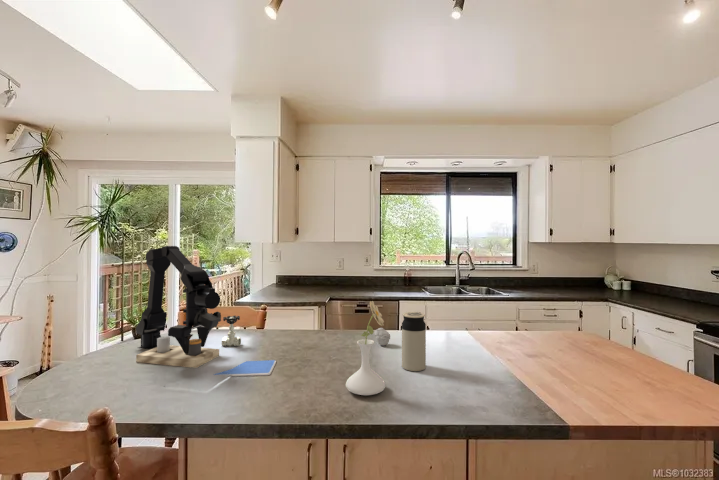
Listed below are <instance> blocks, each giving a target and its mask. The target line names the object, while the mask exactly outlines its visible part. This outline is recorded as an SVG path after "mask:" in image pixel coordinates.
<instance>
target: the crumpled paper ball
mask: <svg viewBox="0 0 719 480" xmlns="http://www.w3.org/2000/svg"><path fill="white" fill-rule="evenodd" d="M373 334H374V337H375V338H376V342H377V344H378V345H380V346H387V345H388V344H389V343H390V340H391V334H390V333H389V331H388V330H386V329H385V328H383V327H379V328H377V329H375V330H374V332H373Z"/></svg>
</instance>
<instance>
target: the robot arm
mask: <svg viewBox="0 0 719 480" xmlns="http://www.w3.org/2000/svg"><path fill="white" fill-rule="evenodd" d="M145 260H146V263H145V264H146V266H147V267H148V269H149V270H150V274H149V286H148V298H147V307H146V308H145V309H144V311H142V313H141V318H140V320H139V322H138V324H137V325H136V327H135V332H136V334H137V335H140V346H139V347H137V349H144V350H145V349H146V350H151V349H154V348H156V347H157V338H160V337H162V335H161V332H163V331H165V329H166V324H167V315H168V314H167V312H166V311H165V310H164V308H163V298H164V297H163V296H164V285H165V277H166V272H167V270H168V268H170V266H171V265H173V267H175V270H177V271H178V272H179V273H180V280H181V282H182V283H183V286H184V287H185V288H184V289H183V291H182V292H183V293H185V308H184V309H183V310H182V312H183V313H185V320H184V321H182V324H177V325H174V326H170V328H168V330H167V337H172V338H175V340H176V341H177V343H178V345H179V346H181V348H182V349H183V351H184V353H185V354H188V352H189V343H190V340H191V338H192V337H193V336H194V334H193V333H192V330H194V329H196V331H197V336H198V339H201V348H205V346H206V345H205V344H206V342H207V339H208V336H209V334H210V331H211V330H213V329H214V328H217V326H218V325H219V322H221V321H222V315H221V312H220V311H218V310H217V311H215V312H213V313H212V312H210V313H209V312H208V309H210V310H214V309H216V308H217V307H218V306H219V305H220V304H221V303H220V302H221V297H220V295H219V293H218V292H216V289H215V288H214V287H213V283H212V282H211V280H210V278H209V275H208V272H207V271H206V270H205V269H203V268H202V267H200V266H198V265H194V264H193V263H192V262H191V260H189V258H187V256H185V255H184V253H183V252H182V251H181V250H180V247H179V246H178V245H165V246H162V247H160V248H150V249H149V250H148V251H147V252H146V254H145Z"/></svg>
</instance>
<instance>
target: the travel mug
mask: <svg viewBox="0 0 719 480" xmlns="http://www.w3.org/2000/svg"><path fill="white" fill-rule="evenodd" d="M402 316H403V320H402V322H401V367H402V369H404V370H406V371H408V372H421V371H424V370H425V369H426V368H427V367H426V364H427V363H426V362H427V360H426V359H427V357H426V356H427V353H426V352H427V351H426V350H427V348H426V346H427V344H426V341H427V340H426V339H427V336H426V335H427V333H426V332H427V329H426V326H427V325H426V322H425V316H426V314H424V313H423V312H418V311H406V312H404V313H402Z"/></svg>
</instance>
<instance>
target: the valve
mask: <svg viewBox="0 0 719 480" xmlns="http://www.w3.org/2000/svg"><path fill="white" fill-rule="evenodd" d="M240 317H241V316H240V315H237V316H236V315H232V316H231V315H227V316H224V317H223V319H222V321H223V322H226V323H227V324H229V326H228V330H229V331H228V332H227V336H224V337H222V340H221V347H229V348H231V347H240V346H241V344H242V338H241V337H240V336H236V332H235V331H234V329H235V326H234V324H235V323H237V322H238V321H239V320H241V318H240Z"/></svg>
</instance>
